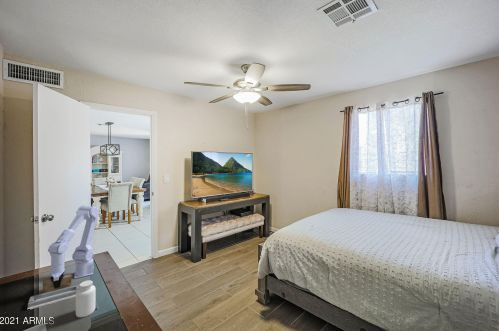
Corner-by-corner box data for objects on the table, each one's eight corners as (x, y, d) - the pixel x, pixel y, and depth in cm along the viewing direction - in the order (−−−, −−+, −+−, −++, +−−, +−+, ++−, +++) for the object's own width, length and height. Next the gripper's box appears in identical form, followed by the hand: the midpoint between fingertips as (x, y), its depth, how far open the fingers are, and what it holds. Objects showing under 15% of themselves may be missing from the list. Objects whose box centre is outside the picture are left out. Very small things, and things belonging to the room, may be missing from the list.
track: (79, 287, 123) (79, 283, 123) (79, 295, 117) (79, 290, 117) (31, 300, 111) (31, 295, 111) (27, 310, 105) (27, 304, 105)
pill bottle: (82, 306, 110) (83, 278, 109) (98, 306, 110) (99, 278, 110) (71, 318, 102) (71, 288, 101) (88, 317, 103) (89, 288, 102)
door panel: (71, 285, 125) (71, 274, 125) (71, 287, 123) (71, 276, 123) (43, 292, 118) (43, 280, 117) (42, 295, 116) (42, 282, 115)
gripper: (50, 259, 123) (49, 281, 124) (46, 271, 111) (45, 296, 112) (66, 256, 127) (65, 278, 128) (63, 267, 116) (63, 291, 116)
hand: (57, 286), depth 120 cm, fingers closed on door panel, 2 cm apart
